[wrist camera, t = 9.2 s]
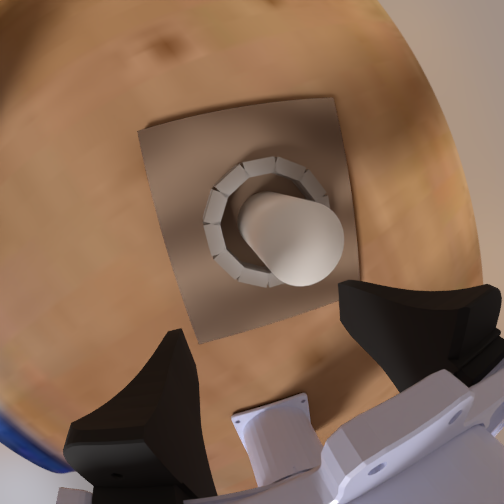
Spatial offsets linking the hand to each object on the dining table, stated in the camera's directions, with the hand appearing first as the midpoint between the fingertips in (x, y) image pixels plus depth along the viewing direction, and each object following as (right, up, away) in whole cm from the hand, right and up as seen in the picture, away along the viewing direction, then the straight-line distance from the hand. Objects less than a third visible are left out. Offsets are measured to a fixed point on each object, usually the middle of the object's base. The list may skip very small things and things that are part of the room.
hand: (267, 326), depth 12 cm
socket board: (0, +6, +8) cm, 10 cm away
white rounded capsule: (0, +5, +7) cm, 9 cm away
